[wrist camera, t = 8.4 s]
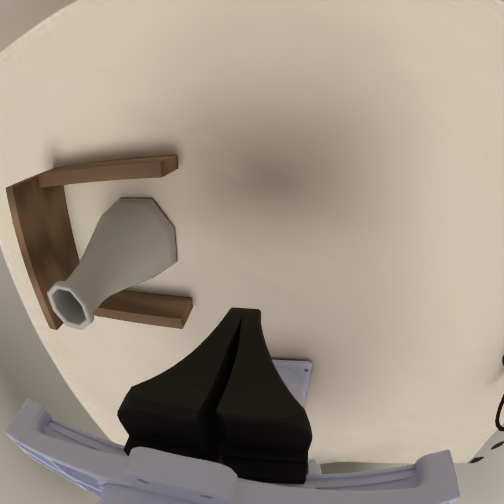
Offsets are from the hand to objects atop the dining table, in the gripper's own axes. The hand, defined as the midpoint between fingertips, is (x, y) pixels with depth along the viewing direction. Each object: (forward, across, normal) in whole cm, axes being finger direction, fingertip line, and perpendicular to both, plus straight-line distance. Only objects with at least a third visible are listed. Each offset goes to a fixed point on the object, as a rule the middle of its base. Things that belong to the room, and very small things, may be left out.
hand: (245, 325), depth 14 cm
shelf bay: (+9, +12, 0) cm, 15 cm away
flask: (+10, +10, 0) cm, 14 cm away
